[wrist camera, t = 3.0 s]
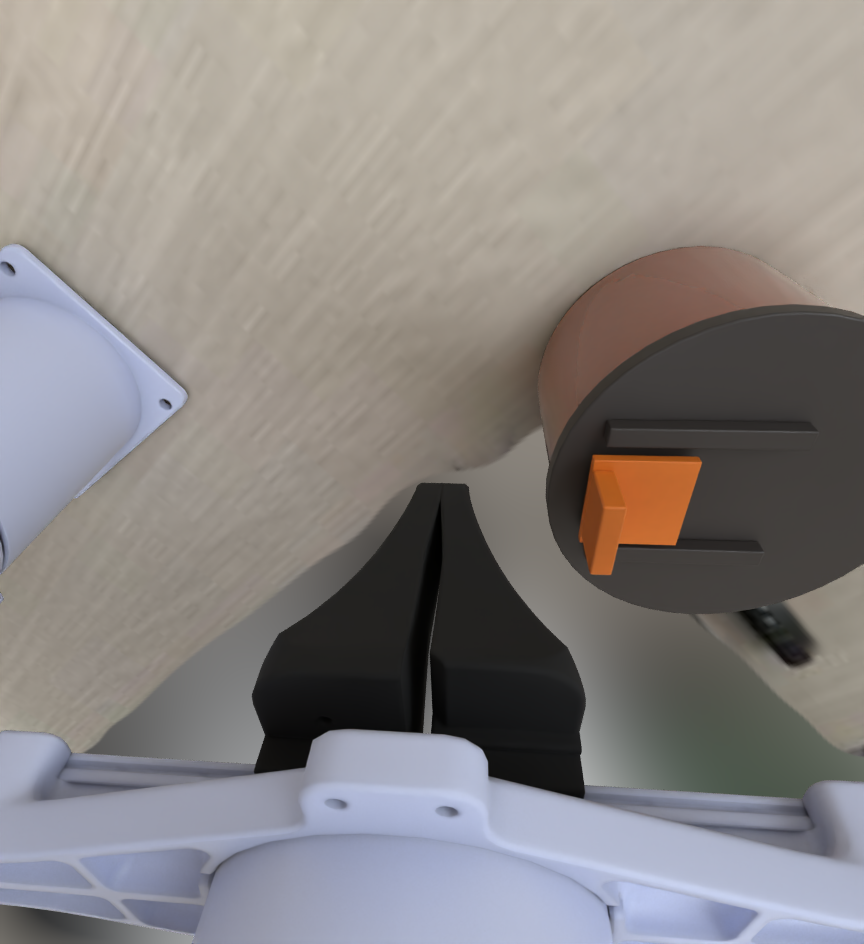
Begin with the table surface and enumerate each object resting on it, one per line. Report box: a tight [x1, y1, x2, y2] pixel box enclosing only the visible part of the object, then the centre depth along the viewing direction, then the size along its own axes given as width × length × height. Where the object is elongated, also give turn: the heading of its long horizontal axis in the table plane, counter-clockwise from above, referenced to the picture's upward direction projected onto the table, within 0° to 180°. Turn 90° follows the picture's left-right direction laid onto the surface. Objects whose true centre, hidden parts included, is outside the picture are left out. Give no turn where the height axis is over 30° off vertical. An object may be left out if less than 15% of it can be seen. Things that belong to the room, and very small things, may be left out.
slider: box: [578, 455, 702, 575], centre depth 15 cm, size 3×3×2 cm
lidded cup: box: [538, 246, 864, 614], centre depth 18 cm, size 11×11×8 cm
